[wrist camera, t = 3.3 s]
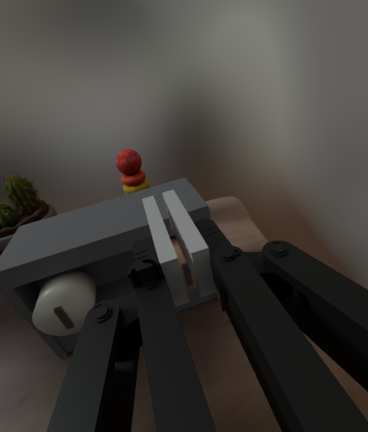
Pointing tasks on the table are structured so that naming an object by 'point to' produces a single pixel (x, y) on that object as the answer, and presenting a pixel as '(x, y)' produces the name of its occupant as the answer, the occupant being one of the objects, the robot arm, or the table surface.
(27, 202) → the flowerpot
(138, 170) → the stacking toy
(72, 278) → the button one
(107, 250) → the console
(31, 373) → the table surface
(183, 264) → the button two
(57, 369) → the table surface
